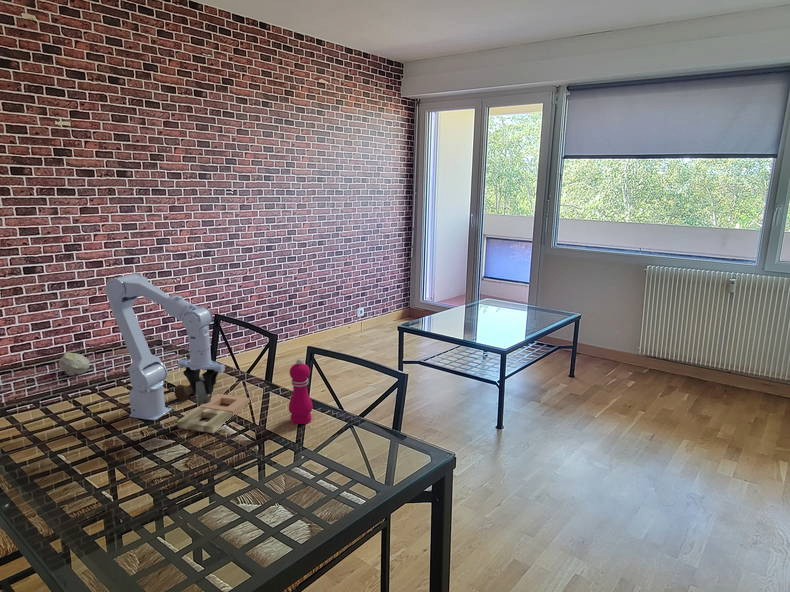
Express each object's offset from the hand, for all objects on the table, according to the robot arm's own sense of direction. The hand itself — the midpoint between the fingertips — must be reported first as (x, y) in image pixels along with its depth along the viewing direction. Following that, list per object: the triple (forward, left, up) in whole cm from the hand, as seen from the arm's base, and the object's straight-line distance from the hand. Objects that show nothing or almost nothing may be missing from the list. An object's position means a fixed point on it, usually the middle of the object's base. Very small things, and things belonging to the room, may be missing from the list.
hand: (203, 392), depth 154 cm
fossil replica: (-69, +20, -10) cm, 73 cm away
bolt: (-15, +19, -10) cm, 26 cm away
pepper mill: (+27, +9, -10) cm, 30 cm away
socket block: (0, +10, -10) cm, 14 cm away
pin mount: (0, 0, -10) cm, 10 cm away
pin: (0, 0, -3) cm, 3 cm away
